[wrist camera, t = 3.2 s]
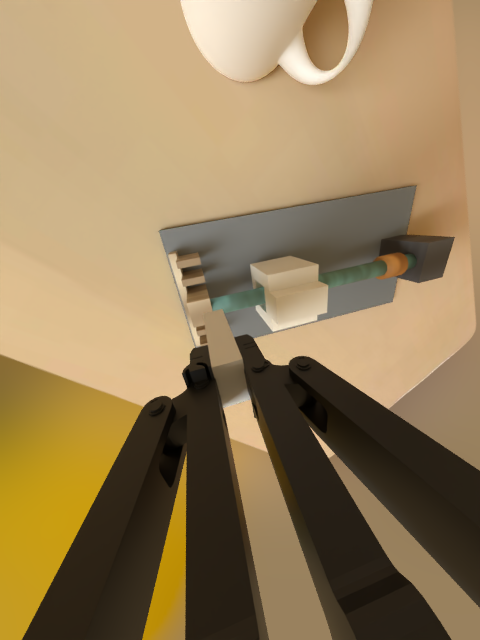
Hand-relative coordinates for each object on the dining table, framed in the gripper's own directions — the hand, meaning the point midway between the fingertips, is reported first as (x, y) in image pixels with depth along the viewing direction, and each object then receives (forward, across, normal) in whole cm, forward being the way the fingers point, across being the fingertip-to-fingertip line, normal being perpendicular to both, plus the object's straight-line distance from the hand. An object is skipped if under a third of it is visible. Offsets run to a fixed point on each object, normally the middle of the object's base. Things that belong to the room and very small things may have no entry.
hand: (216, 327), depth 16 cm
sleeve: (+6, +7, 0) cm, 9 cm away
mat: (+8, +11, 0) cm, 14 cm away
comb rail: (+8, +11, 0) cm, 14 cm away
